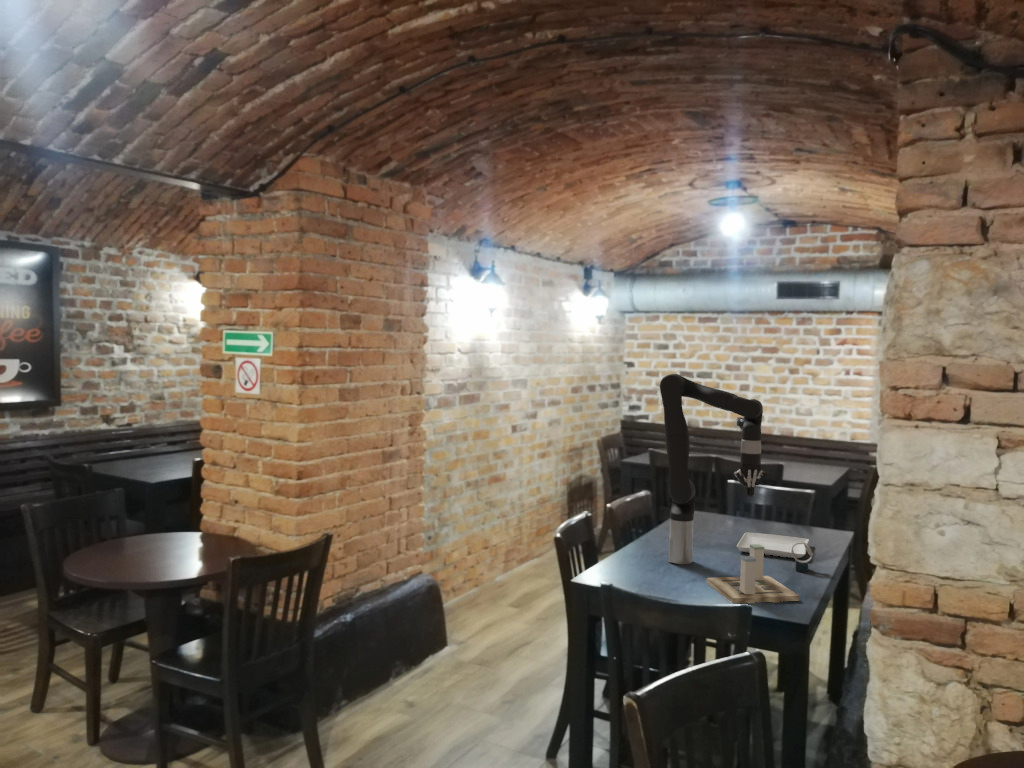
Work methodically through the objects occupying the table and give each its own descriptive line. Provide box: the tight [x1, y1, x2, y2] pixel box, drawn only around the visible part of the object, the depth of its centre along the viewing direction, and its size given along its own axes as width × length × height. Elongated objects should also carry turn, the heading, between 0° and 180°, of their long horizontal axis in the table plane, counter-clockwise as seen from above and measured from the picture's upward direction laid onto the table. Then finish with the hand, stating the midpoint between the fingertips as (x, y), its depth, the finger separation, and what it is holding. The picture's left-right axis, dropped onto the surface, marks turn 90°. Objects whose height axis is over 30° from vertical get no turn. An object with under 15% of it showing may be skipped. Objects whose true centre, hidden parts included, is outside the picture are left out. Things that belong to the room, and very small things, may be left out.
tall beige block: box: [749, 544, 765, 580], centre depth 276 cm, size 4×4×12 cm
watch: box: [791, 541, 814, 573], centre depth 295 cm, size 6×8×11 cm
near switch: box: [739, 555, 756, 594], centre depth 261 cm, size 4×4×12 cm
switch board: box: [706, 575, 800, 604], centre depth 269 cm, size 24×22×2 cm
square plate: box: [736, 532, 810, 559], centre depth 324 cm, size 27×27×4 cm
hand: (749, 496), depth 292 cm, fingers closed
